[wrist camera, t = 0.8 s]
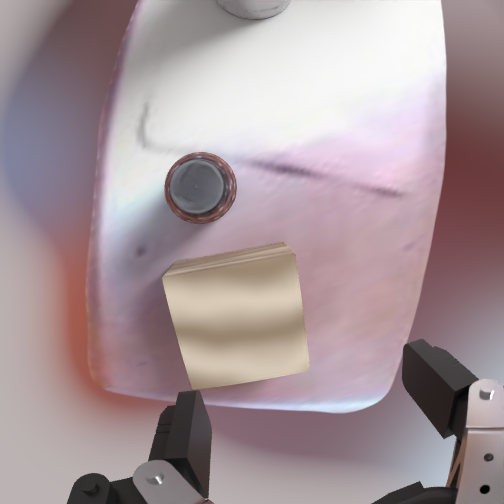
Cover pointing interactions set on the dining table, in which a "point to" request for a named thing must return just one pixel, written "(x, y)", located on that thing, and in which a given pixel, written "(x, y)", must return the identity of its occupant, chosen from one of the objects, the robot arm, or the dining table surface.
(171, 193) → the supplement bottle
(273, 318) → the birch block
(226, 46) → the dining table surface
